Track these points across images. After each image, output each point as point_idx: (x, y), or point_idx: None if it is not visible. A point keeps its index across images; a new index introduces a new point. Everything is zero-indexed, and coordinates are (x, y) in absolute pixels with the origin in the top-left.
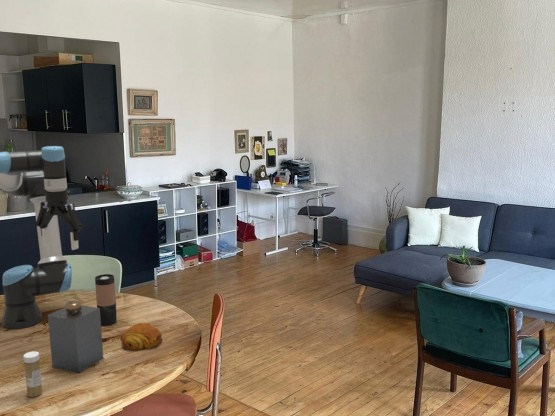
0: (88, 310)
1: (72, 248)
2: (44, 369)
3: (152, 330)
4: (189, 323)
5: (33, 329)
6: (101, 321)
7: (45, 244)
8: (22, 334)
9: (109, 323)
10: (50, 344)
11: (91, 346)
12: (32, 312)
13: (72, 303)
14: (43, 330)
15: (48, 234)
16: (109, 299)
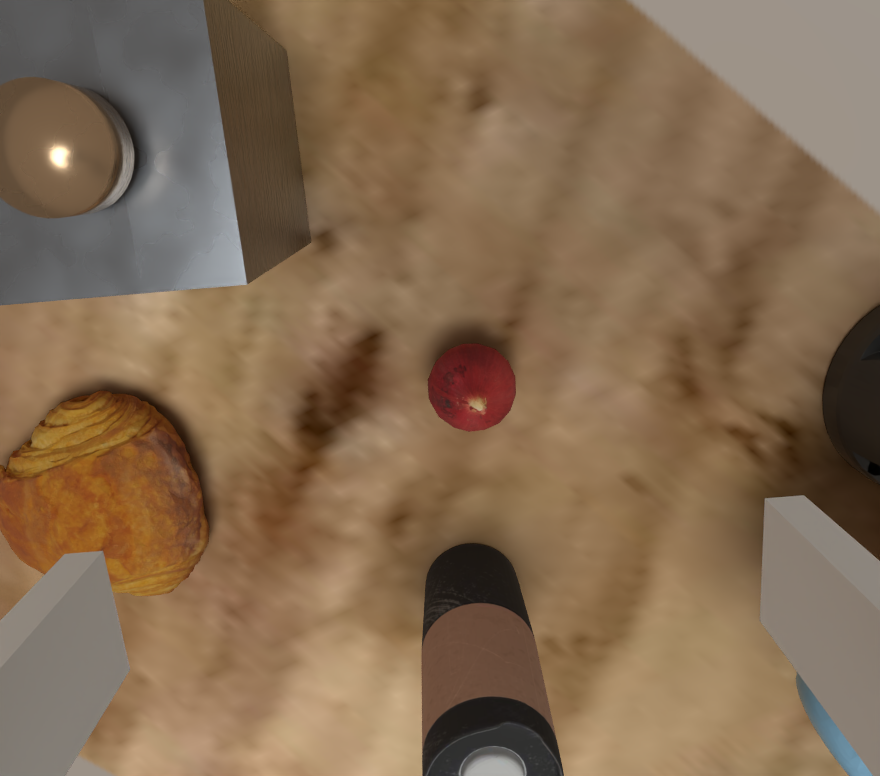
0: (1, 227)
1: (64, 566)
2: (299, 6)
3: (23, 536)
4: (96, 749)
5: (783, 345)
6: (469, 555)
7: (777, 532)
8: (787, 269)
9: (432, 568)
10: (257, 26)
11: None
12: (877, 415)
13: (39, 137)
14: (718, 361)
15: (869, 742)
16: (427, 659)
